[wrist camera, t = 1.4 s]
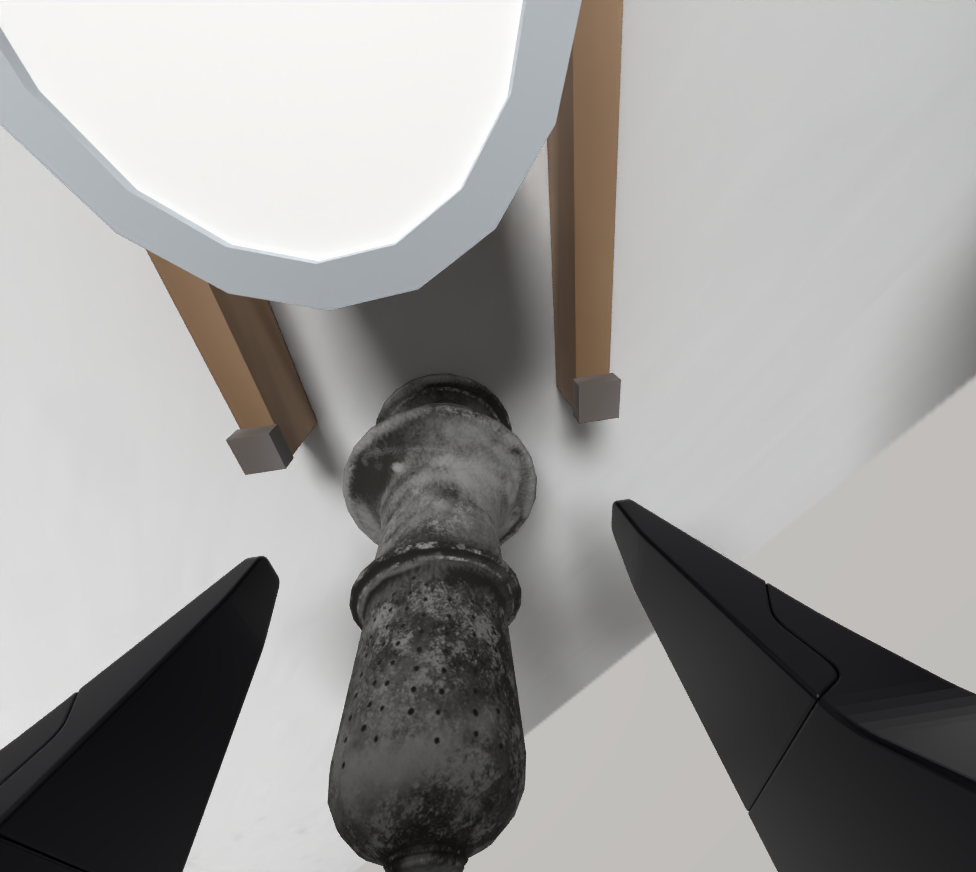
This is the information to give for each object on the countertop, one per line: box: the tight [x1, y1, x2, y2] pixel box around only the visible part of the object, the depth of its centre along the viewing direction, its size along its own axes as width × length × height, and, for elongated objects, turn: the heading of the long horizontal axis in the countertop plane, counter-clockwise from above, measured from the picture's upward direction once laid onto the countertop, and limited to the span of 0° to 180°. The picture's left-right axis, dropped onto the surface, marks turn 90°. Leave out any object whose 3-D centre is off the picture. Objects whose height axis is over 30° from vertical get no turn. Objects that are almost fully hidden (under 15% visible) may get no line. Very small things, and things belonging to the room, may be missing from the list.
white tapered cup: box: [0, 0, 582, 310], centre depth 7 cm, size 7×7×7 cm
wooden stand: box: [146, 0, 623, 475], centre depth 8 cm, size 11×15×3 cm
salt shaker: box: [328, 374, 537, 872], centre depth 9 cm, size 6×6×12 cm
